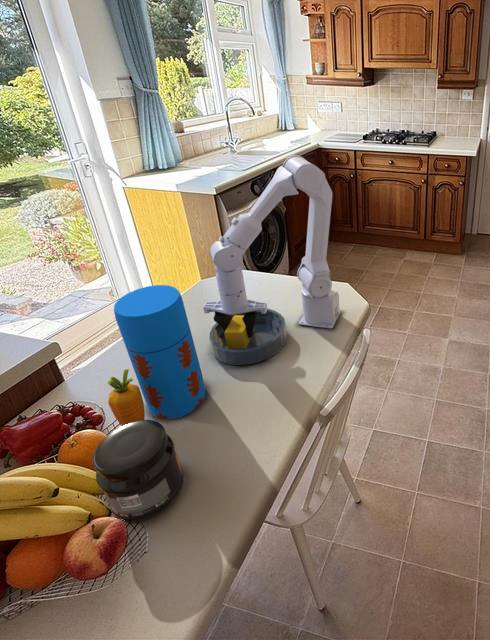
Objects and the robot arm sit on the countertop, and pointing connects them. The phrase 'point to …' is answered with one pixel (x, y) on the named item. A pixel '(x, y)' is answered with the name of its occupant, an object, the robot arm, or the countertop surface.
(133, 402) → the carrot
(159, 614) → the countertop surface
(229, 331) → the sponge
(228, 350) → the bowl
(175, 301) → the thermos
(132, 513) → the supplement container
